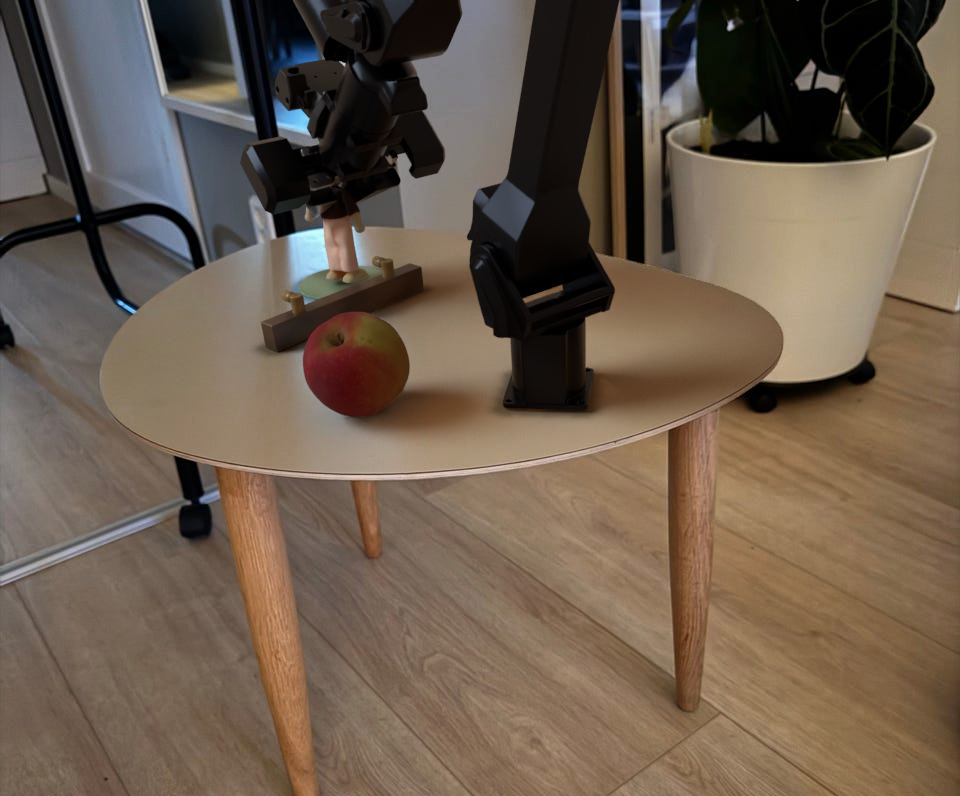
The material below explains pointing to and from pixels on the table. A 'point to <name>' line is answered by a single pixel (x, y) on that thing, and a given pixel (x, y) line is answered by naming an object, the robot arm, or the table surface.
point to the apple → (356, 364)
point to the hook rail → (339, 300)
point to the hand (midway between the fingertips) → (326, 210)
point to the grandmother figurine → (341, 236)
